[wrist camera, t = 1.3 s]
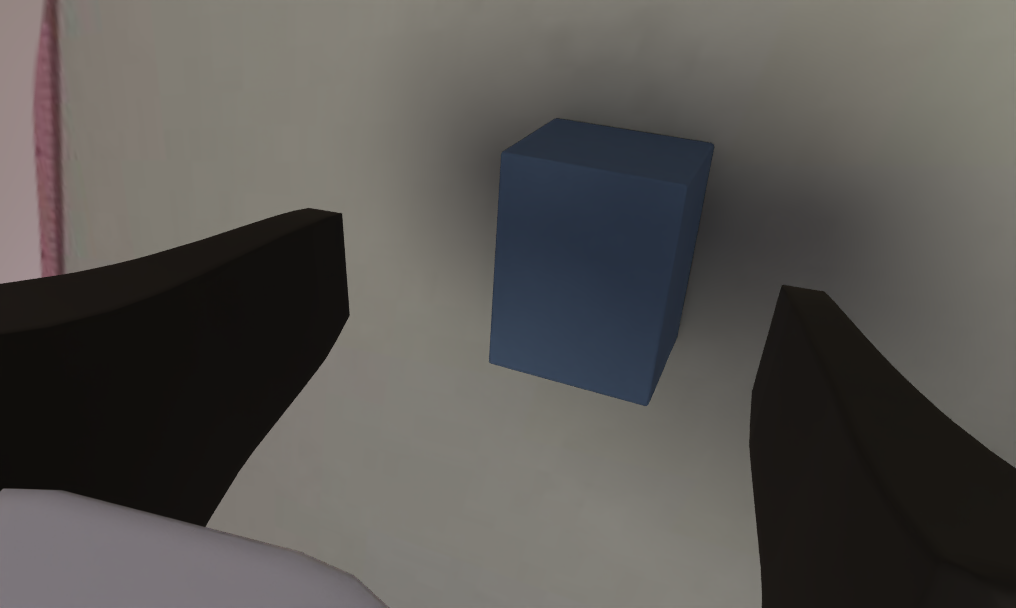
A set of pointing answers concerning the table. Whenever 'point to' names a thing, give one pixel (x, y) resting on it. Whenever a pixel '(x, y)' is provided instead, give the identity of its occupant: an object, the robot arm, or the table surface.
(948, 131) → the table surface
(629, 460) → the table surface
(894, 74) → the table surface
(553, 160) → the blue rectangular block
